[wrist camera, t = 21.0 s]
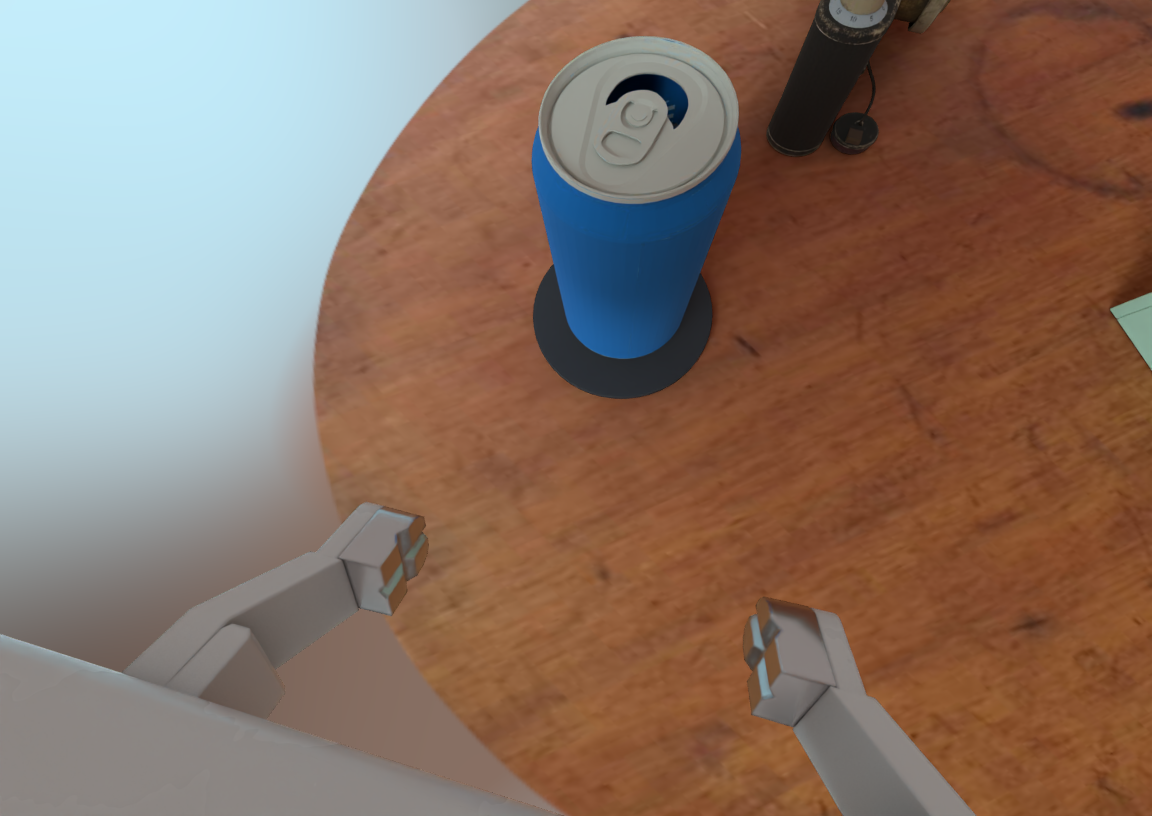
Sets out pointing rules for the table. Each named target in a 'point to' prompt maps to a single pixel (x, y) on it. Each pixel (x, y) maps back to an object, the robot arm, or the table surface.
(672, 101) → the beverage can
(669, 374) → the coaster
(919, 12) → the camera
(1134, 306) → the box frame
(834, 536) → the table surface
